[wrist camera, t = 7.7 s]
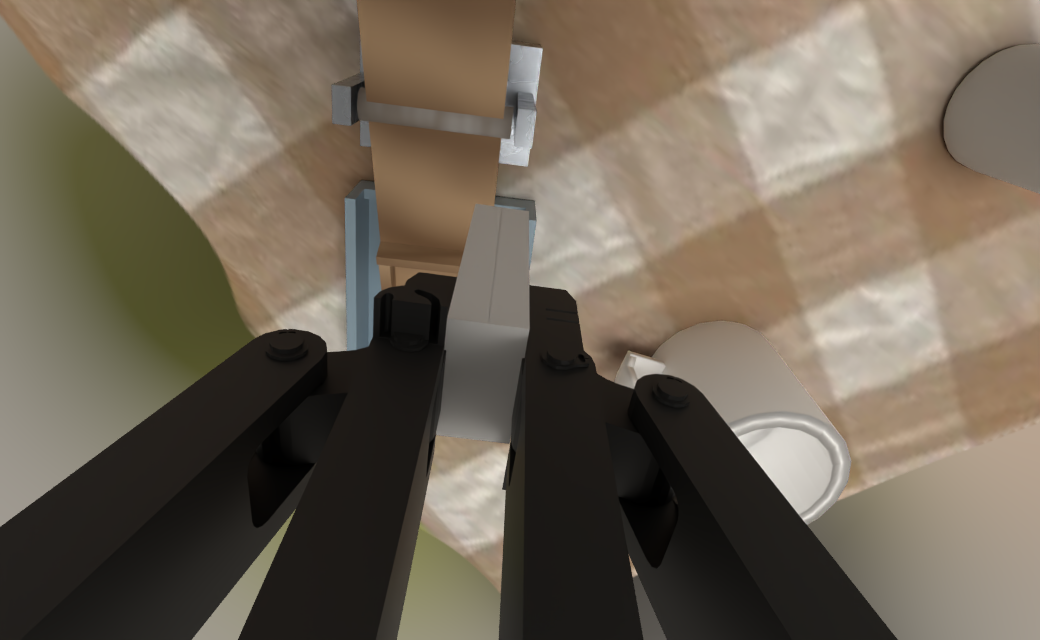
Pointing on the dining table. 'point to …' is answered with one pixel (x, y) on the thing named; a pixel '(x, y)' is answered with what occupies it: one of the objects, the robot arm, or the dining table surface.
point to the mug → (757, 408)
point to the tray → (363, 251)
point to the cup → (999, 118)
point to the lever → (433, 123)
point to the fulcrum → (517, 95)
